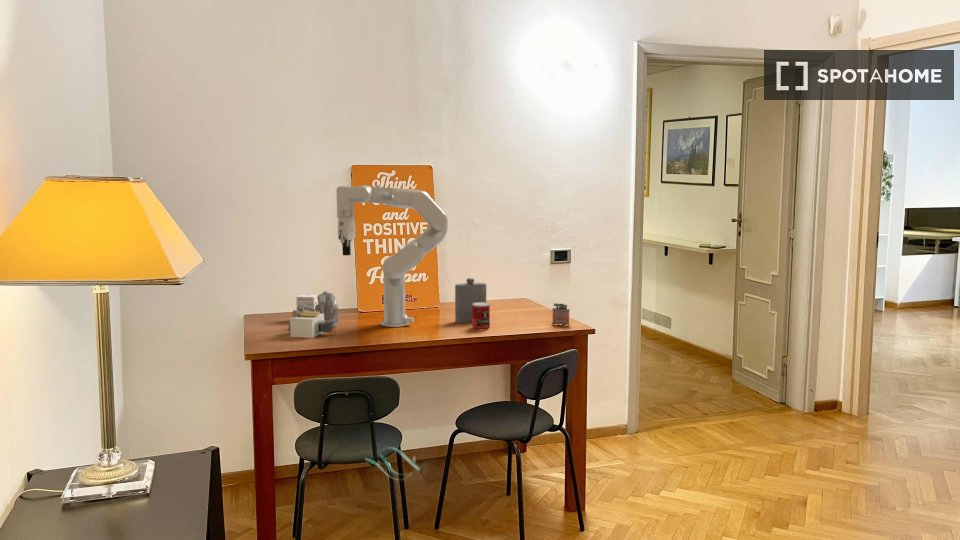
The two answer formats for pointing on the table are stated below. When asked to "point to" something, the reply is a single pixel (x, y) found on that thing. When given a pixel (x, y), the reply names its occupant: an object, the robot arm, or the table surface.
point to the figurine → (327, 308)
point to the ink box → (306, 302)
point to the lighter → (560, 314)
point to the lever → (308, 313)
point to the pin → (320, 327)
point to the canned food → (481, 315)
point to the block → (304, 325)
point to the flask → (468, 299)
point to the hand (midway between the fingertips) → (346, 255)
